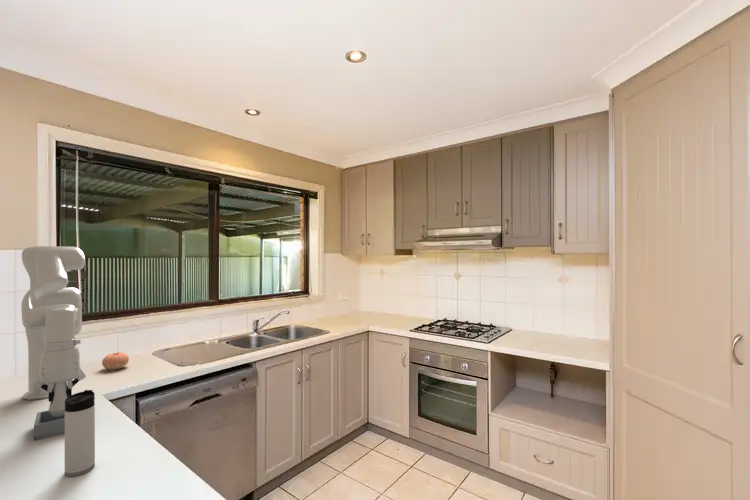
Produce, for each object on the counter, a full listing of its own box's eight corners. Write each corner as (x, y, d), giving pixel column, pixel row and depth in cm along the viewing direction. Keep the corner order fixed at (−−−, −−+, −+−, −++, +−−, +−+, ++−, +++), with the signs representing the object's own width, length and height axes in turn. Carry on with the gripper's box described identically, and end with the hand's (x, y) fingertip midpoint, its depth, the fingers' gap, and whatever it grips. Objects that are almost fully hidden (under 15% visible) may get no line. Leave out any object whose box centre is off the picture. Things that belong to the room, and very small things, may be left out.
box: (37, 426, 122) (37, 412, 122) (83, 415, 130) (83, 403, 130) (33, 440, 113) (33, 426, 113) (83, 428, 120) (83, 414, 120)
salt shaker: (69, 408, 125) (69, 370, 125) (74, 413, 122) (74, 373, 122) (46, 414, 121) (46, 374, 121) (50, 419, 117) (50, 378, 117)
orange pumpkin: (104, 367, 184) (104, 351, 184) (130, 364, 189) (130, 348, 189) (99, 373, 174) (99, 356, 174) (126, 370, 179) (126, 354, 179)
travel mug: (101, 462, 101) (101, 389, 101) (83, 477, 95) (83, 399, 95) (77, 462, 101) (77, 389, 101) (58, 477, 94) (58, 399, 94)
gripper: (91, 339, 129) (91, 392, 129) (27, 347, 119) (27, 404, 119) (92, 344, 123) (92, 399, 123) (24, 352, 113) (24, 412, 113)
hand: (60, 401), depth 121 cm, fingers closed on salt shaker, 3 cm apart
